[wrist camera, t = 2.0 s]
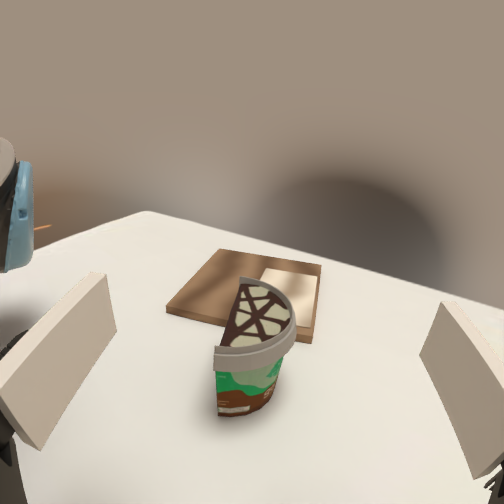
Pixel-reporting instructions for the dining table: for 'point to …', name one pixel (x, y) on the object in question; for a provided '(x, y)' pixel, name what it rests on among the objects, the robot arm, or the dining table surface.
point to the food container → (252, 347)
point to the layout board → (227, 285)
